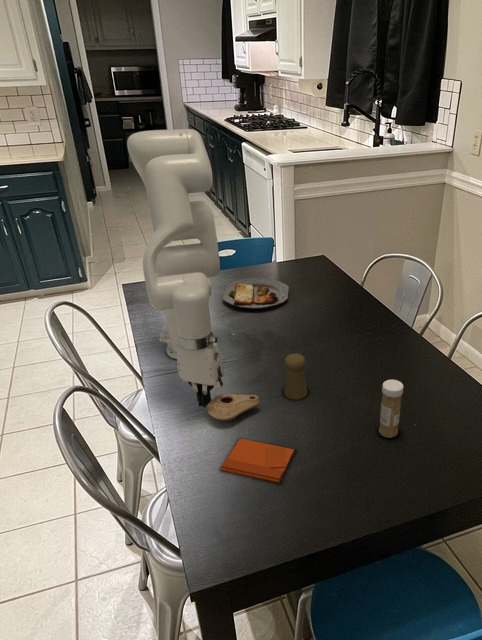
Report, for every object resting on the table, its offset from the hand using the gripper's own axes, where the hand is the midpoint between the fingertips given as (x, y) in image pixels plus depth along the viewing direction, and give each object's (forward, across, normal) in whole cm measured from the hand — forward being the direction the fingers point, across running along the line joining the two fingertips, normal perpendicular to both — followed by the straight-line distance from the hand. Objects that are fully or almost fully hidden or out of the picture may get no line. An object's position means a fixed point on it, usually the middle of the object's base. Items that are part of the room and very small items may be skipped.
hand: (204, 403), depth 123 cm
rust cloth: (+2, -20, +13) cm, 23 cm away
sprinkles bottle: (+2, -45, -5) cm, 45 cm away
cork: (+2, -19, -14) cm, 23 cm away
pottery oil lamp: (+2, -8, 0) cm, 8 cm away
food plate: (+2, +14, -65) cm, 66 cm away
